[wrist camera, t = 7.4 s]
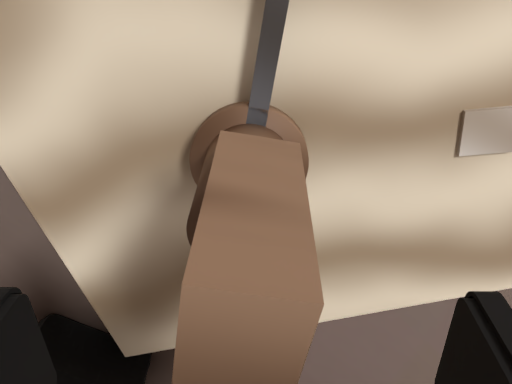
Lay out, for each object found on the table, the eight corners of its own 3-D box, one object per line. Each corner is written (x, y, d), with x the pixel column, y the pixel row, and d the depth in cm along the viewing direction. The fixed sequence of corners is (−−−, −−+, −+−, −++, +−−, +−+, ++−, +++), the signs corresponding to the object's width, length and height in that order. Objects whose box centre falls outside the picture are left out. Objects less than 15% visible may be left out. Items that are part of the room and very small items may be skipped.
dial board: (501, 266, 21) (518, 290, 20) (132, 335, 25) (124, 360, 23) (499, -283, 12) (532, -314, 10) (-105, -51, 15) (-145, -50, 14)
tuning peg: (290, 225, 18) (311, 515, 9) (186, 209, 18) (101, 492, 9) (370, -96, 13) (648, -185, 3) (219, -126, 12) (70, -311, 3)
